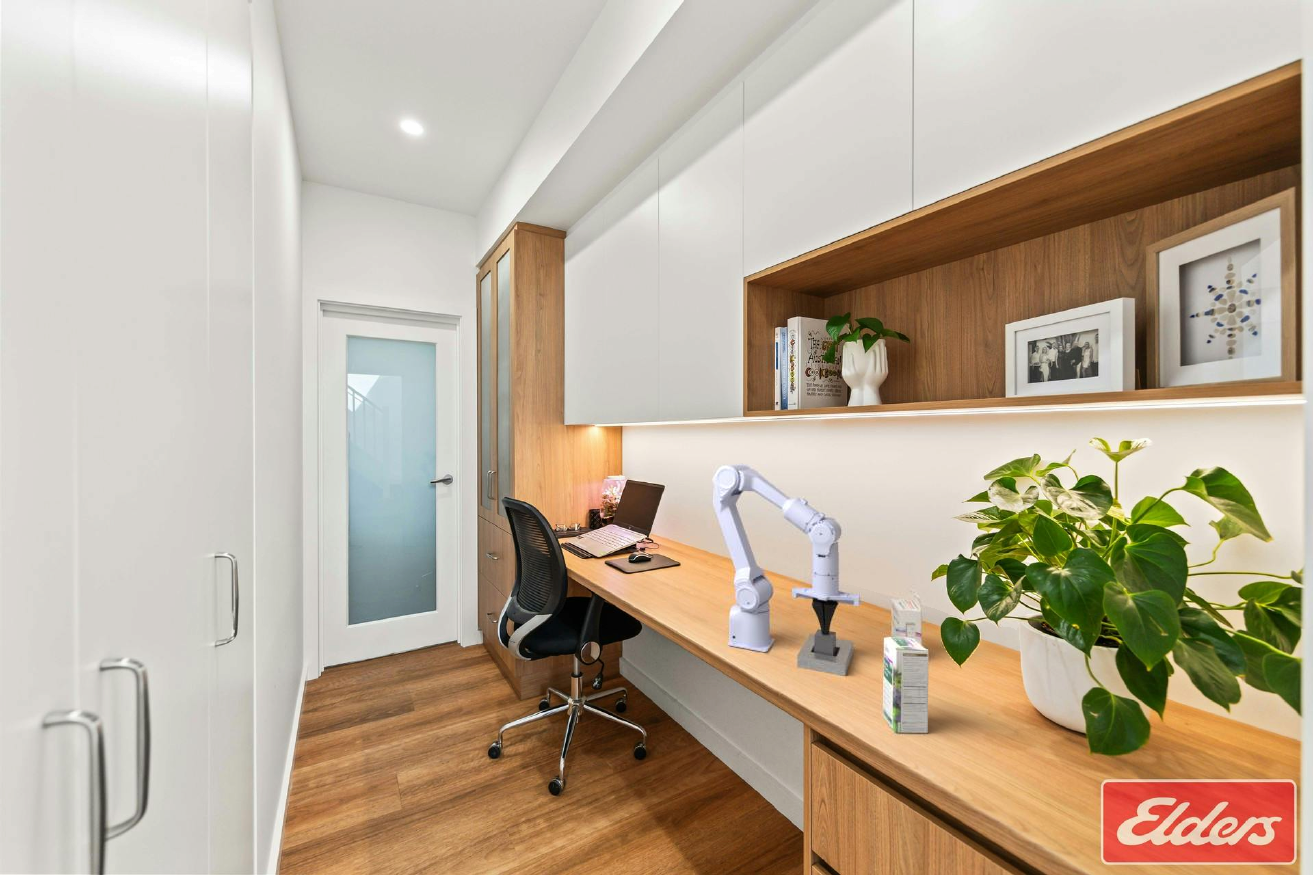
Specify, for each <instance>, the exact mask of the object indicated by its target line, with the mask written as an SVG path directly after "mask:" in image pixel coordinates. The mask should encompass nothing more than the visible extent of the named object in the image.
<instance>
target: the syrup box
mask: <svg viewBox="0 0 1313 875" xmlns="http://www.w3.org/2000/svg"><path fill="white" fill-rule="evenodd" d="M929 654H930V653H929V649H928V648H925V646H923V644H922V645H921V644H920V643H919V642H917V641H916V640H915V639H914V638H907V637H892V636H887V637H884V638H883V676H882V677H883V678H882V679H883V683H882V686H883V687H882V689H883V690H882V717H883V718H884V720H885V721H886V722H887V724H888V725H889V727H891V729H892V730H893V732H894V733H895V734H927V733H928V732H929V729H928V728H929V727H928V725H929V724H928V723H929V722H928V721H929V660H930V659H929Z"/></svg>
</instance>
